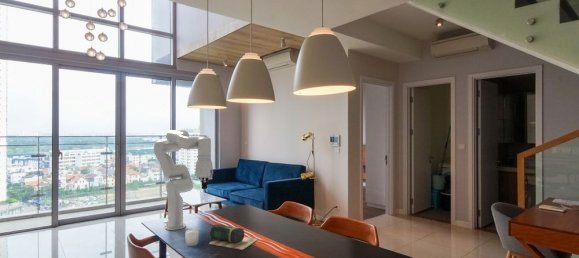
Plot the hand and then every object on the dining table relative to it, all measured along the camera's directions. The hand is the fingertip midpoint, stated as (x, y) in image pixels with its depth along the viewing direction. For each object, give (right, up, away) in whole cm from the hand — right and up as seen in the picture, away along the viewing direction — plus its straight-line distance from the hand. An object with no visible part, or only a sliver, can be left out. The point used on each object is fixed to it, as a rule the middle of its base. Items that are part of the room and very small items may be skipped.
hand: (204, 188), depth 184 cm
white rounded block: (-4, -29, -11) cm, 31 cm away
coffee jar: (+7, -24, -3) cm, 26 cm away
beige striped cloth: (+19, -29, -8) cm, 36 cm away
